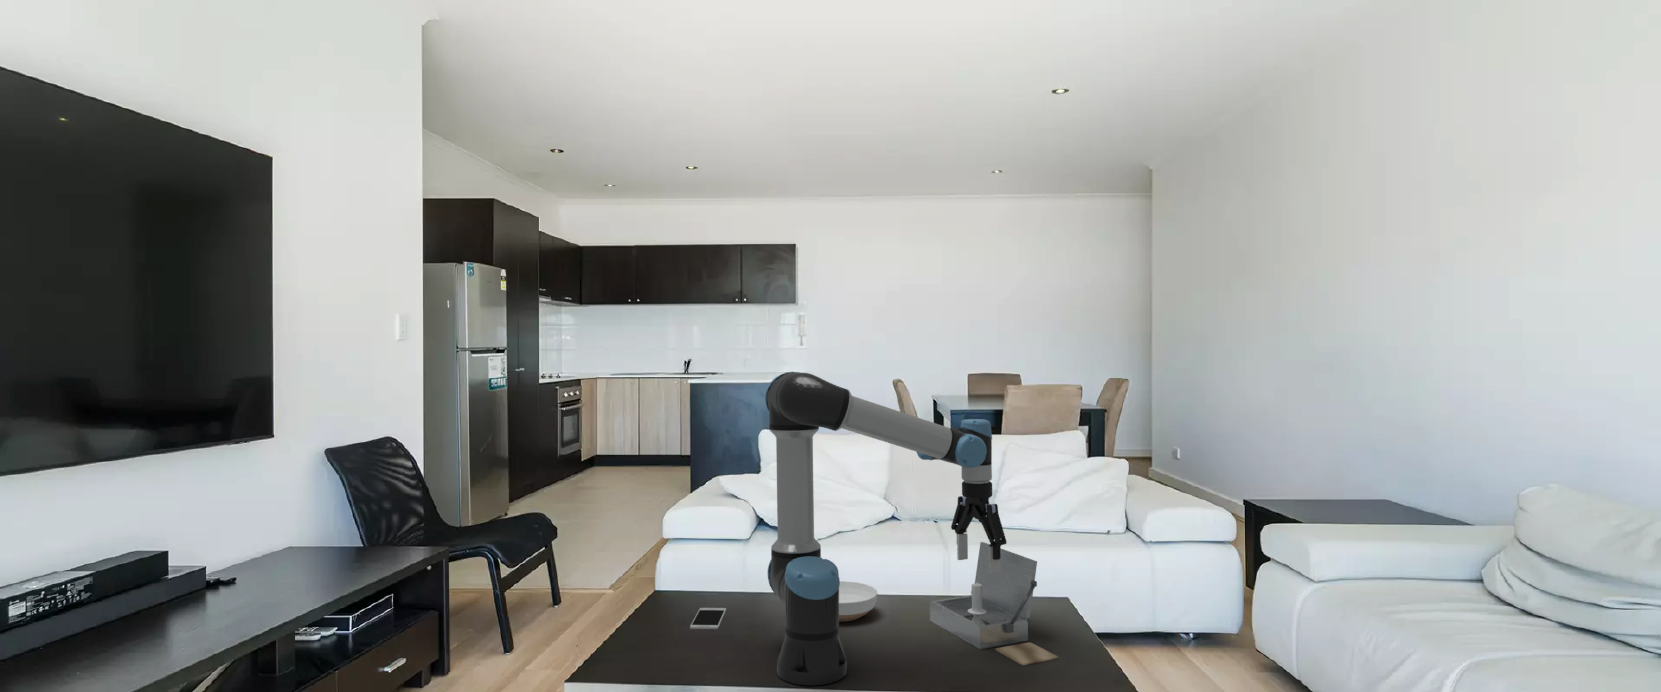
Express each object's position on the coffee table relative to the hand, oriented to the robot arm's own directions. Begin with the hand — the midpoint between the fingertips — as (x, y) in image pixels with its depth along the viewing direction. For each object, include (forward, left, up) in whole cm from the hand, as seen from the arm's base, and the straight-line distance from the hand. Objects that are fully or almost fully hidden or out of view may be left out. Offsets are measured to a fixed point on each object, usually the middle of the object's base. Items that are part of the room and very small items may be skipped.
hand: (978, 565), depth 195 cm
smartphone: (-59, +36, -17) cm, 71 cm away
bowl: (-26, +25, -16) cm, 40 cm away
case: (+1, 0, -16) cm, 16 cm away
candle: (0, 0, -16) cm, 16 cm away
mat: (+1, -18, -16) cm, 24 cm away
